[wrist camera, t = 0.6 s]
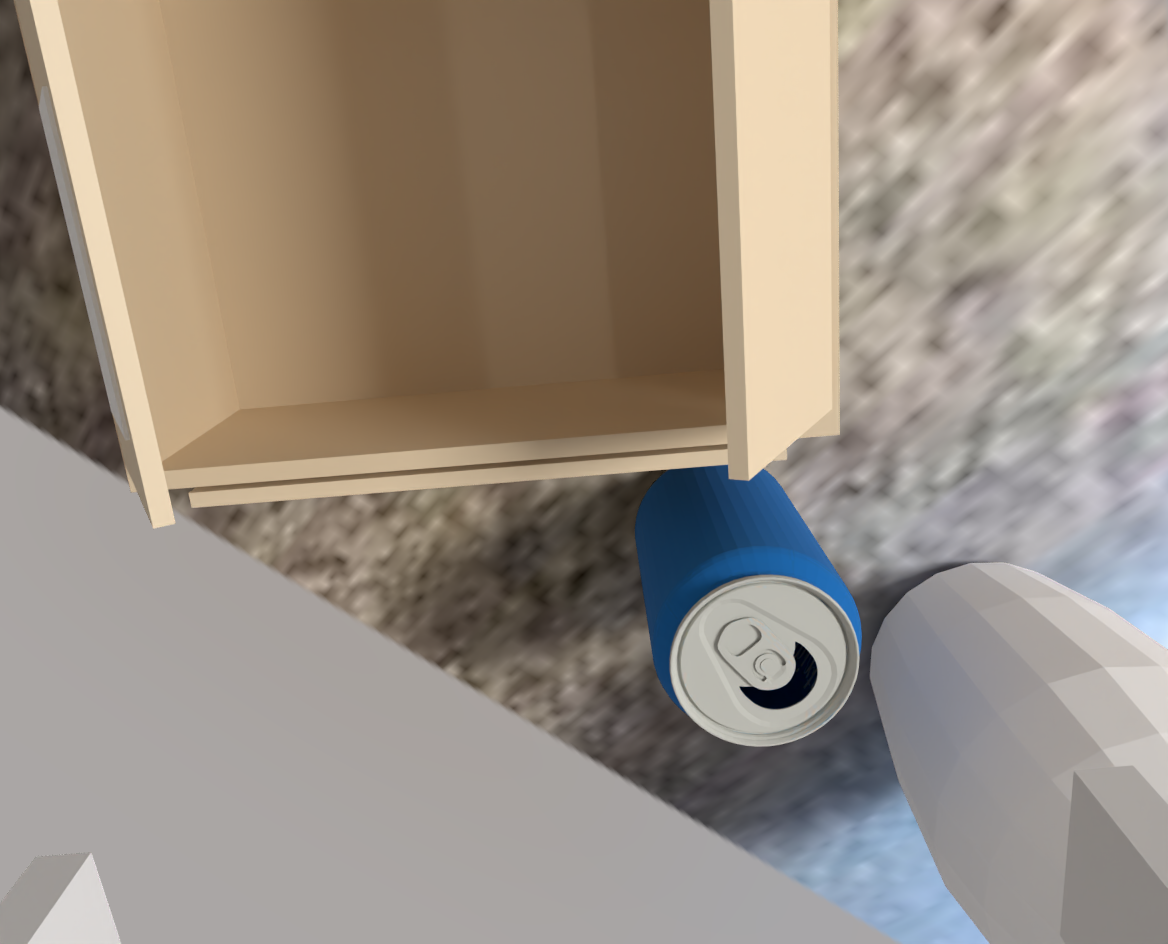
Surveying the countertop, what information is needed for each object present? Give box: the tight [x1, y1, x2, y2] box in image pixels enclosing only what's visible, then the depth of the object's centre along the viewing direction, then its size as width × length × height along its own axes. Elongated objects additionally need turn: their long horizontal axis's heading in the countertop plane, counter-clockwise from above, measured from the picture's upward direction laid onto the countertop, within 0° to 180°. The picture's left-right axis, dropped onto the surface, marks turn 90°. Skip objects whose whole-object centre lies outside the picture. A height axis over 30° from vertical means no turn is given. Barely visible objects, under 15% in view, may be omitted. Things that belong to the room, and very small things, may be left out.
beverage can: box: [635, 465, 862, 747], centre depth 34 cm, size 6×6×12 cm
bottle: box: [870, 562, 1168, 944], centre depth 29 cm, size 11×11×25 cm
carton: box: [13, 0, 840, 508], centre depth 30 cm, size 22×22×9 cm
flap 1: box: [15, 0, 175, 528], centre depth 23 cm, size 18×1×7 cm
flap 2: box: [709, 0, 832, 481], centre depth 23 cm, size 18×1×7 cm, turn 5°
